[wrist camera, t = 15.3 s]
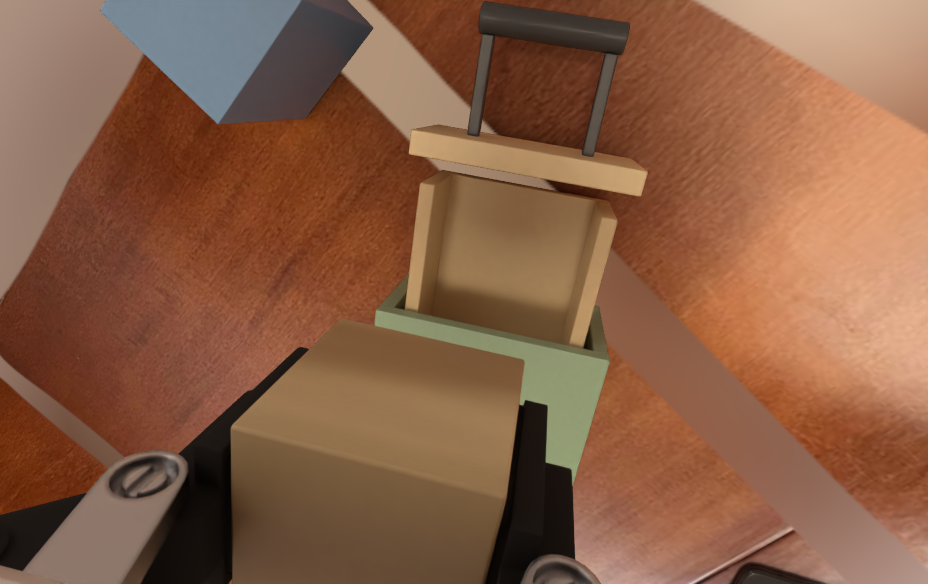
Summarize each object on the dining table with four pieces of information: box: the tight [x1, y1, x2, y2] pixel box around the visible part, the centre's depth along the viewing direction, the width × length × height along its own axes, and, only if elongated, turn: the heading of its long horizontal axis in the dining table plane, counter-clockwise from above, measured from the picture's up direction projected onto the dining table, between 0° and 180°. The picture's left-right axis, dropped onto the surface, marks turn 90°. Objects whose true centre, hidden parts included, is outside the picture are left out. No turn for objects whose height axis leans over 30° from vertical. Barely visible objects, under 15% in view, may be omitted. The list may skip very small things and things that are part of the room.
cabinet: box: [374, 273, 610, 486], centre depth 33 cm, size 15×13×8 cm
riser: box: [100, 0, 373, 124], centre depth 26 cm, size 7×7×9 cm
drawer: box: [405, 1, 648, 349], centre depth 28 cm, size 20×11×6 cm, turn 171°
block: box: [231, 319, 525, 584], centre depth 11 cm, size 4×4×4 cm
